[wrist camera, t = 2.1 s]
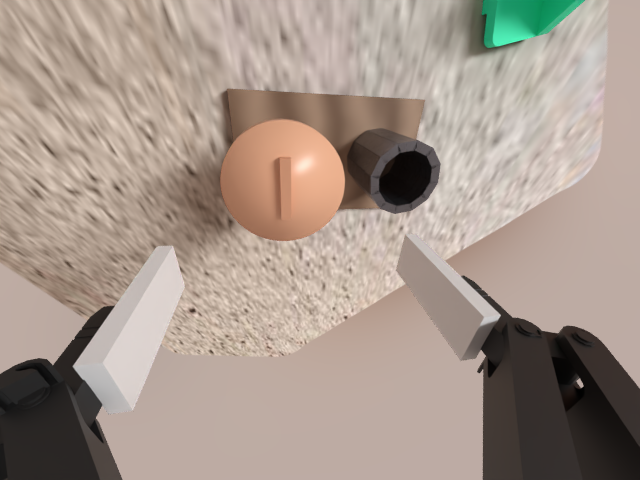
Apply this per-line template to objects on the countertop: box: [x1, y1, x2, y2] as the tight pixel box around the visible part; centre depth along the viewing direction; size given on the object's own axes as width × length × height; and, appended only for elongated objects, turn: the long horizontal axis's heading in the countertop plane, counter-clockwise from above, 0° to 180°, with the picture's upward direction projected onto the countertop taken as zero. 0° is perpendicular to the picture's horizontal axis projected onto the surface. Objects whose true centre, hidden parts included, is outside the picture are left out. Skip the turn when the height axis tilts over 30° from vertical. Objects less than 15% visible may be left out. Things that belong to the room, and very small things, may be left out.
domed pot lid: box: [220, 119, 345, 241], centre depth 26 cm, size 12×12×5 cm
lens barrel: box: [347, 128, 440, 214], centre depth 33 cm, size 8×8×10 cm
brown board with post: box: [227, 89, 425, 209], centre depth 34 cm, size 26×16×10 cm, turn 87°
